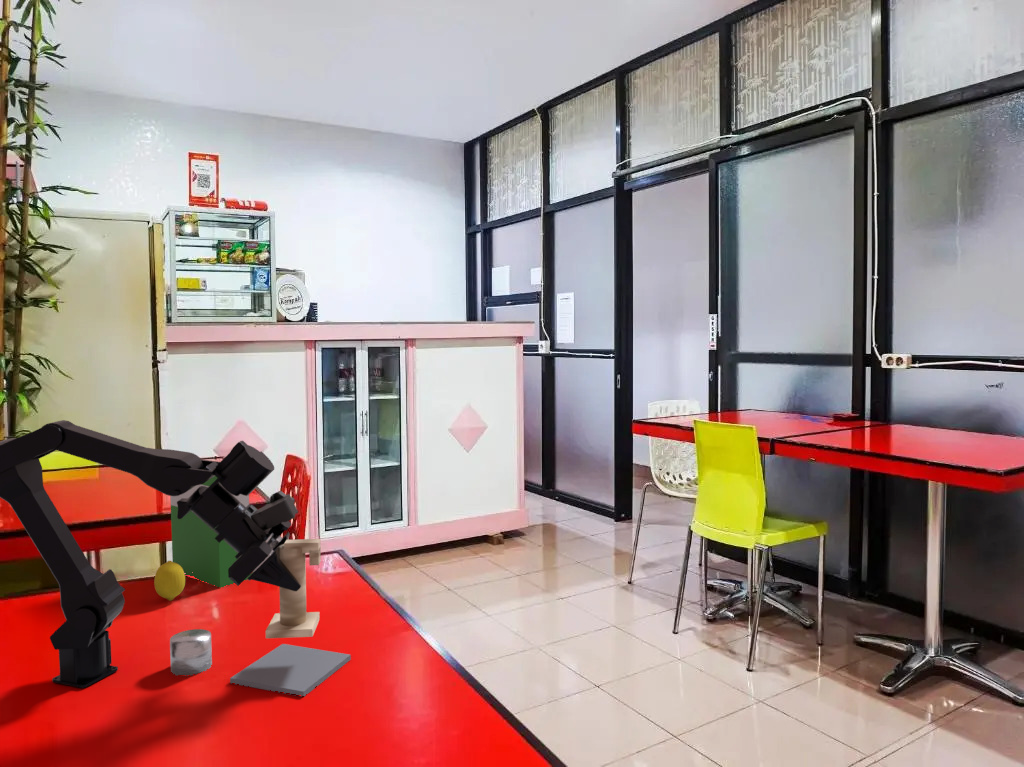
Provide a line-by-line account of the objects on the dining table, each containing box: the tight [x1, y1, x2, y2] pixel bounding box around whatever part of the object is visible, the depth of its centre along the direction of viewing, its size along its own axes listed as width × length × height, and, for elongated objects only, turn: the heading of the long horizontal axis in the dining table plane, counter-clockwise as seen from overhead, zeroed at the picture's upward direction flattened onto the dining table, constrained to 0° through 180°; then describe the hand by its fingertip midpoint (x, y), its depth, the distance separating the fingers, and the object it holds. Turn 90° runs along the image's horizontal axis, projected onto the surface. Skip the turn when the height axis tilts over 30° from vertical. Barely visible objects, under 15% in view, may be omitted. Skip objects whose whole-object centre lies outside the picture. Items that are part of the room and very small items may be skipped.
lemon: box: [153, 560, 186, 602], centre depth 147 cm, size 6×6×8 cm
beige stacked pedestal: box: [265, 538, 322, 639], centre depth 117 cm, size 8×7×14 cm
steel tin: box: [169, 628, 213, 677], centre depth 118 cm, size 6×6×5 cm
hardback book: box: [169, 476, 250, 589], centre depth 162 cm, size 18×7×24 cm, turn 55°
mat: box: [229, 643, 352, 697], centre depth 117 cm, size 13×13×1 cm
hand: (301, 584), depth 117 cm, fingers closed on beige stacked pedestal, 4 cm apart
